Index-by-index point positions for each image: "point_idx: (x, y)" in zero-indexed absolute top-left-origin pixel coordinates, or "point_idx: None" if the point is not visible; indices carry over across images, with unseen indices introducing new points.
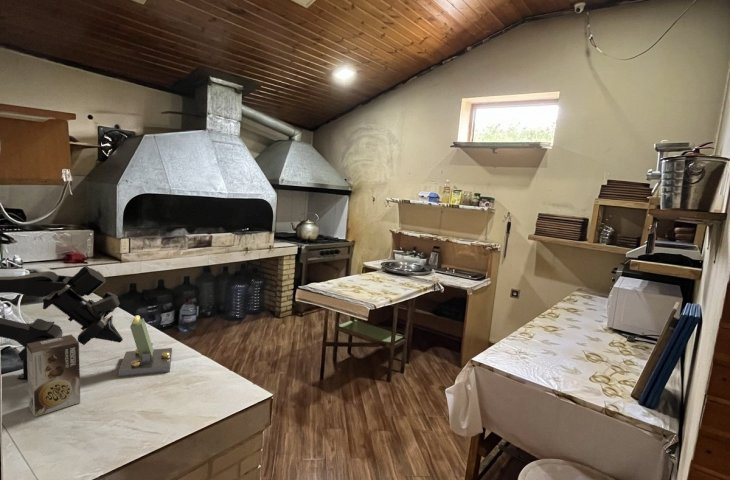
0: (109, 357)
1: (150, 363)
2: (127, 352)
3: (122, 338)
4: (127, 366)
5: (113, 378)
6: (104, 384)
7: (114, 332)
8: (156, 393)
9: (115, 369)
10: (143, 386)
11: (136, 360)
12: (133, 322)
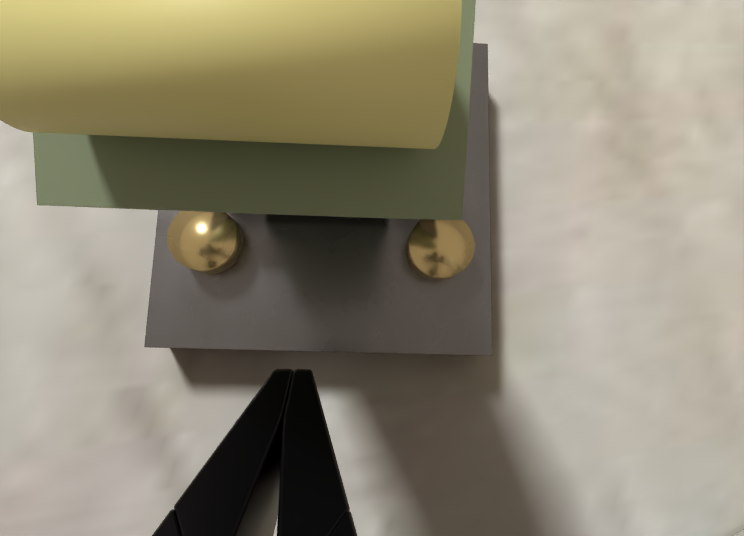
0: (125, 461)
1: None
2: (166, 334)
3: (274, 373)
4: (437, 305)
5: (486, 381)
6: (558, 422)
7: (342, 516)
8: (720, 135)
9: (352, 388)
10: (627, 203)
11: (420, 243)
12: (445, 109)
